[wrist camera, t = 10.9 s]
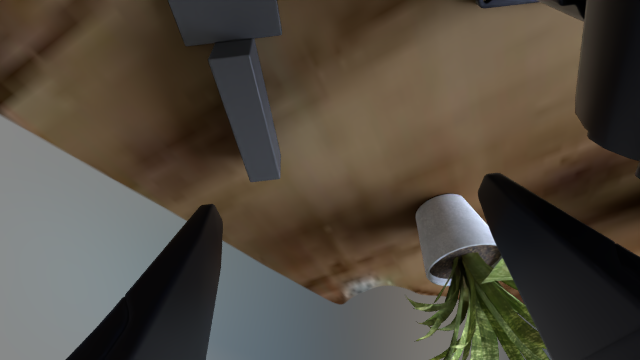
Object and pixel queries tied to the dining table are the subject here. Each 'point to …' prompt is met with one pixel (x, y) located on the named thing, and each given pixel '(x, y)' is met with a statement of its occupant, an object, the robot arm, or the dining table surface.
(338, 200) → the dining table surface
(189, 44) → the spatula
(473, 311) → the house plant
